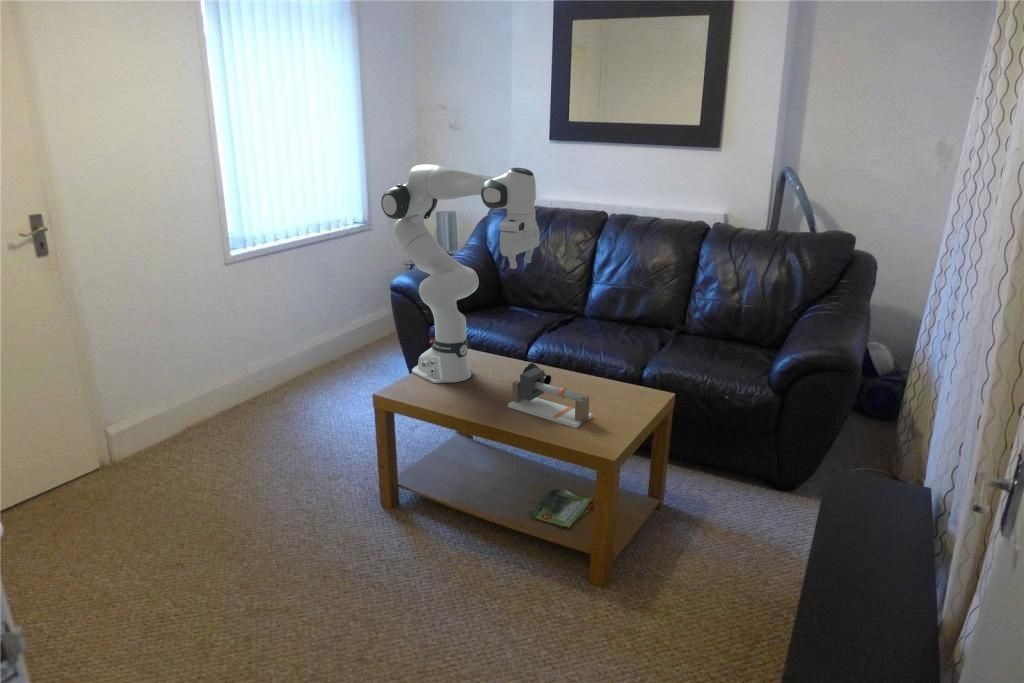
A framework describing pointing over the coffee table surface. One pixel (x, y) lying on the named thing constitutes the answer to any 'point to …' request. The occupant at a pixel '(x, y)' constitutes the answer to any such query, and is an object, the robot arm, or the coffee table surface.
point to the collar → (531, 383)
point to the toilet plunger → (530, 366)
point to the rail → (553, 405)
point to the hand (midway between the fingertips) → (520, 265)
